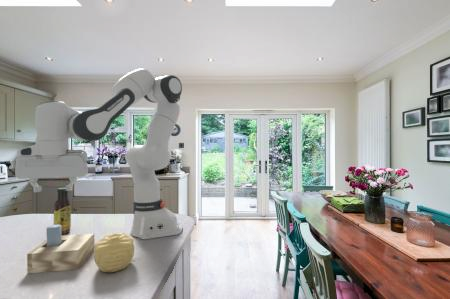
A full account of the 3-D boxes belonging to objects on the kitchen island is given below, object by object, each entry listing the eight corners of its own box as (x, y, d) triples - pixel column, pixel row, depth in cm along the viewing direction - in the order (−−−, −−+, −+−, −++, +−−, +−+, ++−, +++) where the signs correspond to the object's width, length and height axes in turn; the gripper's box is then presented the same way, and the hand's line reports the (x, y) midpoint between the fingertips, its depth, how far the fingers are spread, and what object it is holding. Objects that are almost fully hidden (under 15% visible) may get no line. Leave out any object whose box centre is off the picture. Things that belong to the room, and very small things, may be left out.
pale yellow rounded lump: (92, 281, 66) (91, 243, 66) (96, 262, 77) (96, 229, 77) (135, 272, 71) (134, 237, 71) (133, 255, 82) (133, 225, 82)
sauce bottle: (61, 236, 99) (61, 190, 99) (49, 235, 101) (49, 189, 100) (74, 230, 106) (74, 187, 106) (63, 229, 107) (62, 186, 107)
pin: (64, 252, 80) (63, 224, 80) (58, 258, 76) (57, 228, 76) (51, 254, 79) (50, 225, 79) (44, 259, 75) (43, 229, 75)
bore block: (94, 249, 87) (94, 233, 86) (78, 268, 73) (78, 249, 73) (52, 252, 84) (52, 236, 84) (27, 273, 70) (27, 253, 70)
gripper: (90, 149, 82) (91, 188, 83) (24, 150, 78) (25, 190, 79) (83, 149, 76) (84, 191, 76) (11, 150, 72) (12, 194, 72)
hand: (53, 191), depth 77 cm, fingers open, 8 cm apart
